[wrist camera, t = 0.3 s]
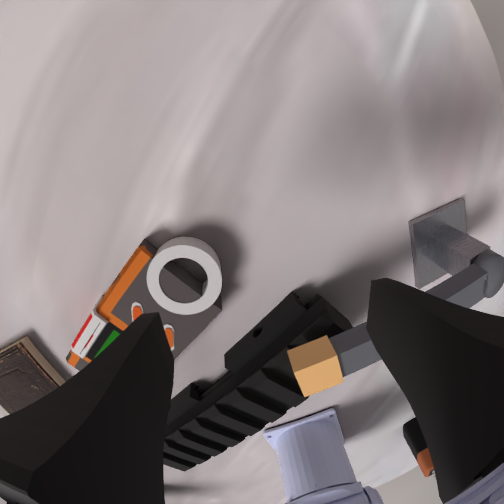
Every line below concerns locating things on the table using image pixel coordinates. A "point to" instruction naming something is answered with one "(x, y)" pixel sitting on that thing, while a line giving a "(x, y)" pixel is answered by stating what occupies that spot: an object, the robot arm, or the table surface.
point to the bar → (360, 344)
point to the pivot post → (442, 243)
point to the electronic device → (154, 298)
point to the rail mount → (248, 384)
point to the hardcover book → (25, 376)
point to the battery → (418, 446)
